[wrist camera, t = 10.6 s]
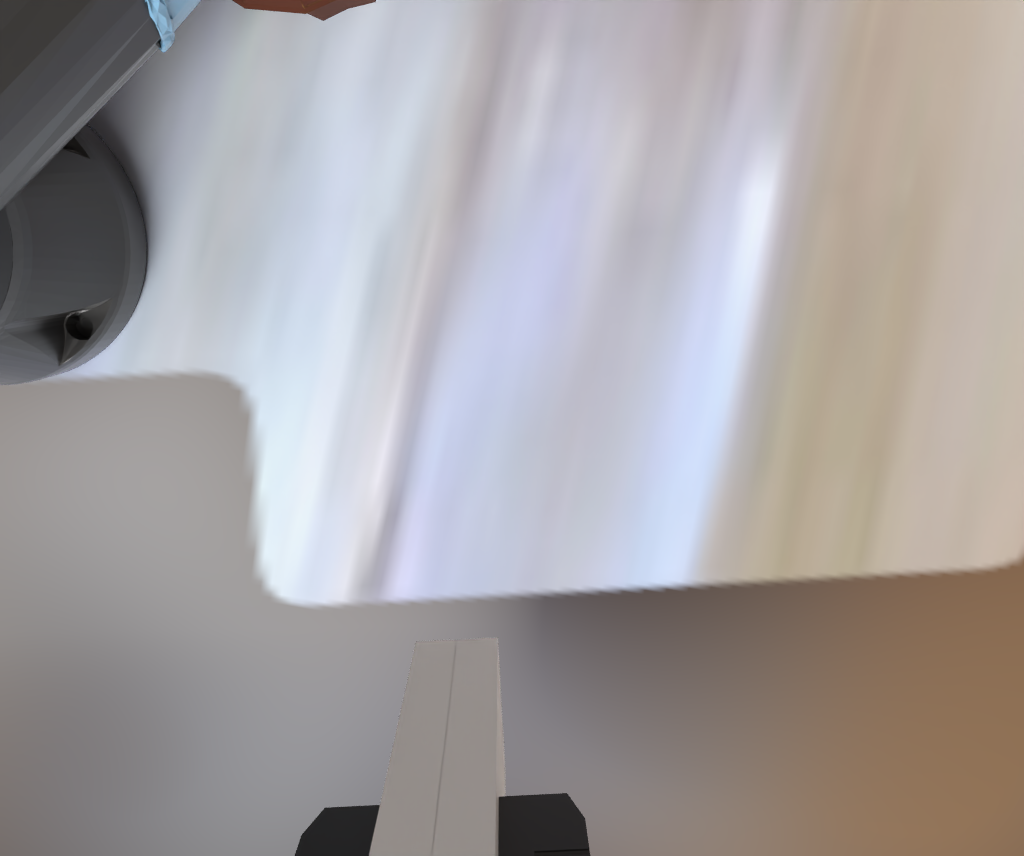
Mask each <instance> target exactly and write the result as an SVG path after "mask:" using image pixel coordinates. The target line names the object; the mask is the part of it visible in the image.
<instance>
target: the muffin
mask: <svg viewBox="0 0 1024 856" xmlns="http://www.w3.org/2000/svg"><path fill="white" fill-rule="evenodd" d="M233 1H234V2H236V3H237V4H239V5H240V6H242V7H244V8H246V9H258V10H269V11H280V12H291V13H303V14H306V13H308V14H310V15H312V16H314V17H316V18H318V19H321V20H323V21H324V20H326V19H328V18H330V17H332V16H334V15H336V14H338V13H340V12H342V11H344V10H346V9H349V8H353V7H357V6H361V5H365V4H369V3H373V2H375V1H376V0H233Z"/></svg>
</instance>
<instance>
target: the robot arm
mask: <svg viewBox="0 0 1024 856" xmlns="http://www.w3.org/2000/svg"><path fill="white" fill-rule="evenodd" d="M200 1H201V0H0V385H12V384H21V383H27V382H32V381H36V380H40V379H43V378H47V377H50V376H54V375H58V374H61V373H64V372H67V371H69V370H72V369H74V368H76V367H78V366H80V365H82V364H84V363H86V362H88V361H89V360H91V359H92V358H94V357H95V356H97V355H98V354H99V353H101V352H102V351H103V350H104V349H105V348H106V347H108V346H109V345H110V344H111V343H112V342H113V340H114V339H115V338H116V337H117V336H118V335H119V333H120V332H121V331H122V330H123V328H124V327H125V325H126V324H127V322H128V320H129V319H130V317H131V315H132V313H133V311H134V309H135V307H136V304H137V302H138V299H139V296H140V293H141V290H142V286H143V282H144V276H145V269H146V253H147V251H146V236H145V228H144V223H143V218H142V214H141V210H140V207H139V204H138V201H137V198H136V195H135V193H134V190H133V188H132V185H131V183H130V181H129V179H128V177H127V175H126V174H125V172H124V170H123V168H122V167H121V165H120V163H119V162H118V160H117V159H116V158H115V156H114V155H113V153H112V152H111V151H110V149H109V148H108V147H107V146H106V144H105V143H104V142H103V141H102V140H101V139H100V138H99V136H98V135H97V134H96V133H95V132H94V131H93V130H92V129H91V128H89V127H88V126H87V125H86V123H87V122H88V121H89V120H90V119H91V118H92V117H93V116H94V115H95V114H96V113H97V112H98V111H99V110H100V109H101V108H102V107H103V106H104V105H105V104H106V103H107V102H108V101H109V99H110V98H111V97H112V96H113V95H114V94H115V93H116V92H117V91H118V90H119V89H120V88H121V87H122V86H123V85H124V84H125V83H126V82H127V81H128V80H129V79H130V78H131V77H132V76H133V74H134V73H135V72H136V71H137V70H138V69H139V68H140V67H141V66H142V65H143V64H144V63H145V62H146V61H147V60H148V59H149V58H150V57H151V56H152V55H153V54H154V53H155V52H156V51H157V50H158V49H160V50H161V51H162V52H165V51H167V50H168V49H169V48H170V47H171V46H172V44H173V42H174V40H175V33H174V31H175V30H176V29H177V28H178V27H179V26H180V24H181V23H182V22H183V21H184V20H185V19H186V17H187V16H188V15H189V14H190V13H191V12H192V11H193V9H194V8H195V7H196V6H197V5H198V4H199V2H200ZM295 856H590V852H589V843H588V837H587V829H586V823H585V818H584V816H583V815H582V814H581V812H580V811H579V809H578V808H577V807H576V805H575V804H574V802H573V801H572V800H571V798H570V797H569V796H568V794H567V793H562V794H545V795H544V794H542V795H524V796H523V795H522V796H505V756H504V741H503V722H502V704H501V687H500V670H499V651H498V638H497V637H495V638H475V639H455V640H434V641H416V643H415V647H414V652H413V657H412V662H411V666H410V670H409V675H408V679H407V684H406V689H405V693H404V698H403V702H402V707H401V711H400V716H399V721H398V725H397V729H396V734H395V739H394V744H393V748H392V752H391V757H390V761H389V766H388V771H387V775H386V780H385V784H384V789H383V793H382V798H381V802H380V805H372V806H352V807H332V808H324V810H323V811H322V812H321V813H320V814H319V816H318V817H317V818H316V819H315V820H314V821H313V822H312V824H311V825H310V826H309V827H308V828H307V829H306V831H305V832H304V833H303V834H302V836H301V839H300V842H299V845H298V848H297V850H296V854H295Z"/></svg>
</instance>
